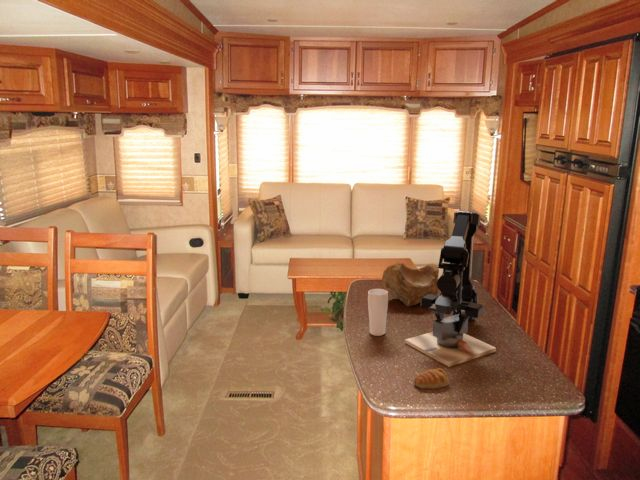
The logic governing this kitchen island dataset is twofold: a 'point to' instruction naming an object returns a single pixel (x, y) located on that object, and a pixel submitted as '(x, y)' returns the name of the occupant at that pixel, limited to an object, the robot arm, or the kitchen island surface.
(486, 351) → the beige square board
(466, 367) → the kitchen island surface
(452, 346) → the coupling
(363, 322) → the kitchen island surface
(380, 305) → the drinking glass
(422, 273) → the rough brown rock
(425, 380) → the pastry
